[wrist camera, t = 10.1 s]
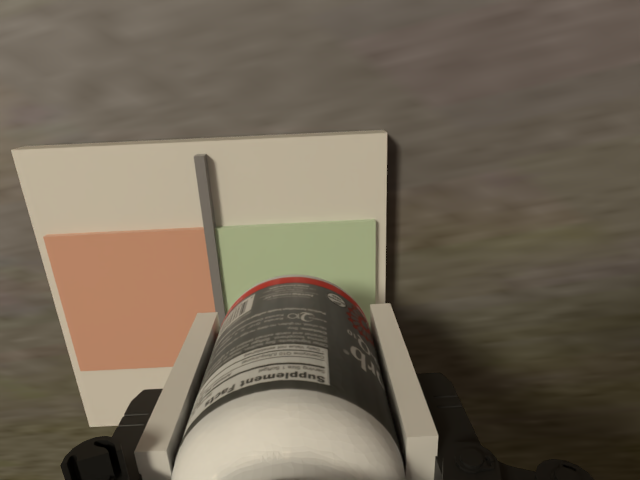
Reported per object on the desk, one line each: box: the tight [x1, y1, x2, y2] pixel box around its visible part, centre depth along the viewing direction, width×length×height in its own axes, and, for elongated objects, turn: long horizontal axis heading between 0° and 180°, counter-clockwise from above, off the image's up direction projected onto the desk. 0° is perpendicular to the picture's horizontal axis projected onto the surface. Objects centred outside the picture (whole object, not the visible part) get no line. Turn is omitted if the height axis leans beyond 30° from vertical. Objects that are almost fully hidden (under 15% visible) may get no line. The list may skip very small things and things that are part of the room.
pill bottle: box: [171, 275, 406, 480], centre depth 13 cm, size 6×6×10 cm
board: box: [11, 130, 387, 427], centre depth 21 cm, size 14×15×2 cm
